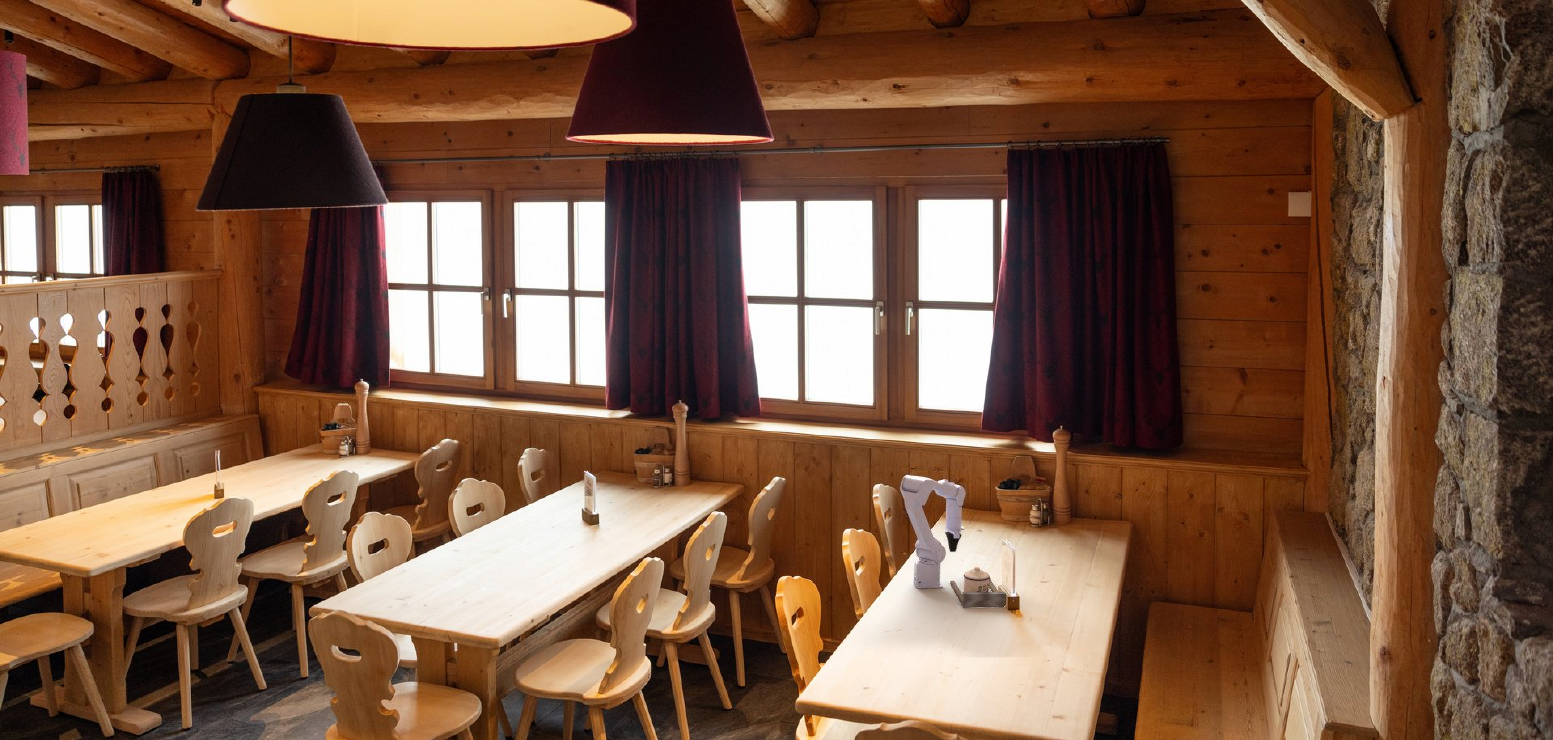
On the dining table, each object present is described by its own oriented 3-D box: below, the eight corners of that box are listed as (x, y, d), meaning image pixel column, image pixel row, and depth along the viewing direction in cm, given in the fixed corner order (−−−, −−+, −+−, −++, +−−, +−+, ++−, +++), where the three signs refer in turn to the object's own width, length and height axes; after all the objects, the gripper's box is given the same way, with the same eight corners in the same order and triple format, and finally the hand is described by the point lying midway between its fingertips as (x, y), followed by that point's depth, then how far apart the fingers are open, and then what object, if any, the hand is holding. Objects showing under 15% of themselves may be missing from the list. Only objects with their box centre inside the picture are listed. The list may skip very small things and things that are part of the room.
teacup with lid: (977, 605, 414) (978, 573, 412) (957, 598, 420) (958, 566, 419) (999, 597, 421) (1000, 566, 419) (979, 590, 428) (980, 559, 426)
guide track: (963, 607, 411) (963, 594, 410) (950, 584, 435) (950, 571, 434) (1006, 607, 411) (1006, 593, 411) (990, 584, 435) (991, 571, 434)
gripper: (968, 521, 434) (967, 557, 436) (960, 510, 448) (959, 545, 450) (949, 521, 434) (948, 557, 436) (942, 510, 448) (941, 545, 450)
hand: (952, 551), depth 443 cm, fingers closed
